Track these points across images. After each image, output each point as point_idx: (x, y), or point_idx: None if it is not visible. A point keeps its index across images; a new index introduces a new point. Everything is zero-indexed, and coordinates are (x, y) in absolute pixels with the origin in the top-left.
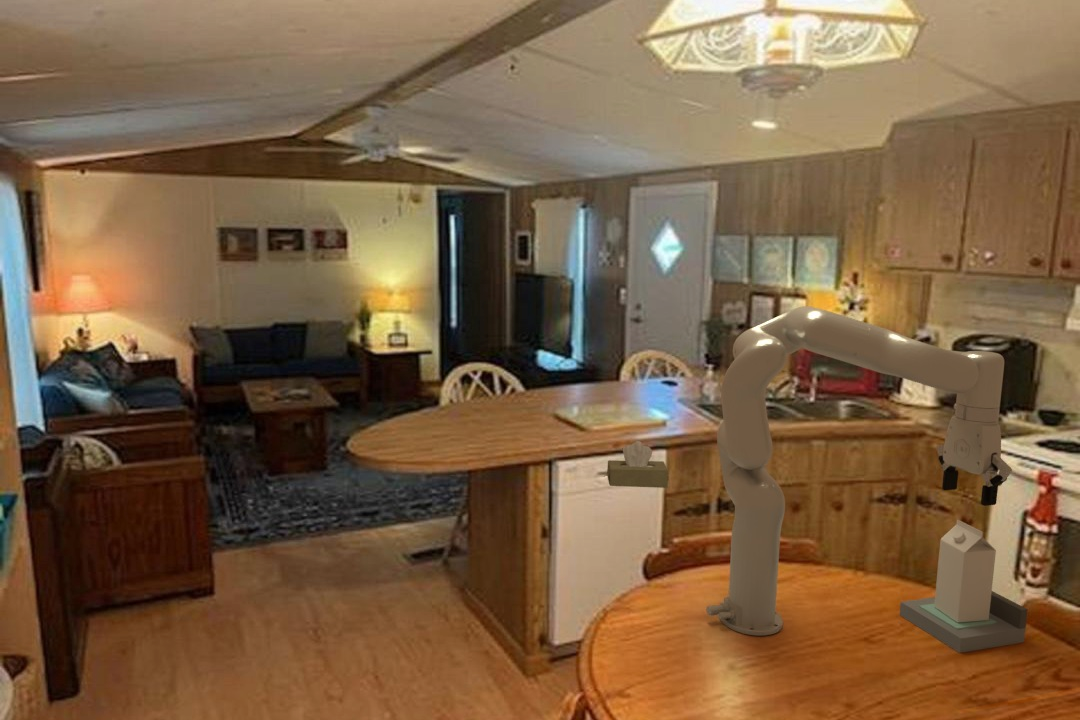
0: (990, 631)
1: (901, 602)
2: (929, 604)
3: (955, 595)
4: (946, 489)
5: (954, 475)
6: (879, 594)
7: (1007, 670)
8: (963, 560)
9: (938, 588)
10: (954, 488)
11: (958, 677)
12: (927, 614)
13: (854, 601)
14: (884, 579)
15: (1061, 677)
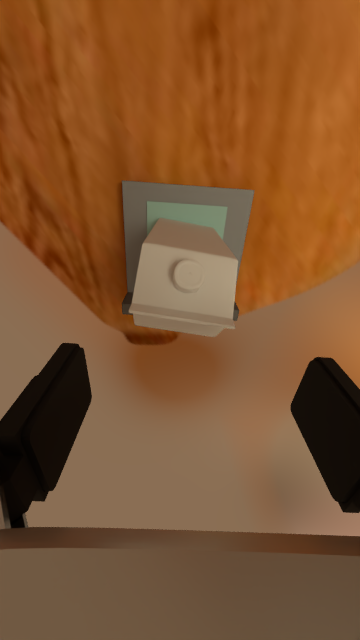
0: (130, 248)
1: (252, 190)
2: (223, 228)
3: (167, 225)
4: (310, 366)
5: (333, 464)
6: (311, 217)
7: (74, 209)
8: (147, 238)
9: (211, 232)
10: (294, 402)
11: (63, 105)
12: (202, 198)
13: (320, 147)
14: (336, 268)
15: (53, 262)
